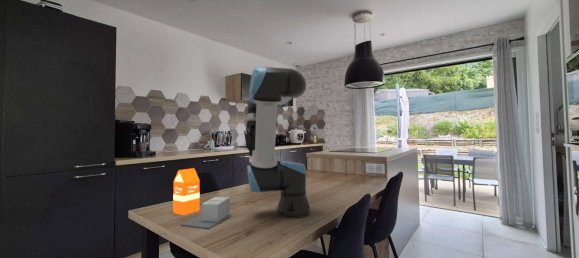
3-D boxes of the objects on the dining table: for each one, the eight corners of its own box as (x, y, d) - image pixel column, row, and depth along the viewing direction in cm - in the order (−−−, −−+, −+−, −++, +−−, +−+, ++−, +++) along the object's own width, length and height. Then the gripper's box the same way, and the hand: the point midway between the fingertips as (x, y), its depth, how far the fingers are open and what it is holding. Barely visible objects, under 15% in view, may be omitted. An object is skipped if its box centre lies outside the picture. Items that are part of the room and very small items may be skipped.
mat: (206, 214, 113) (206, 212, 113) (231, 216, 109) (231, 215, 109) (180, 225, 98) (180, 224, 98) (208, 229, 94) (208, 227, 94)
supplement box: (230, 196, 112) (218, 204, 99) (230, 213, 112) (218, 223, 99) (214, 196, 113) (201, 203, 100) (214, 212, 113) (200, 221, 100)
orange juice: (199, 210, 119) (199, 168, 120) (183, 215, 111) (183, 170, 112) (189, 208, 123) (189, 167, 124) (172, 212, 115) (173, 169, 116)
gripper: (255, 126, 151) (254, 164, 143) (240, 119, 140) (238, 160, 132) (265, 124, 147) (264, 163, 139) (251, 117, 137) (249, 158, 128)
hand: (252, 161), depth 136 cm, fingers closed
